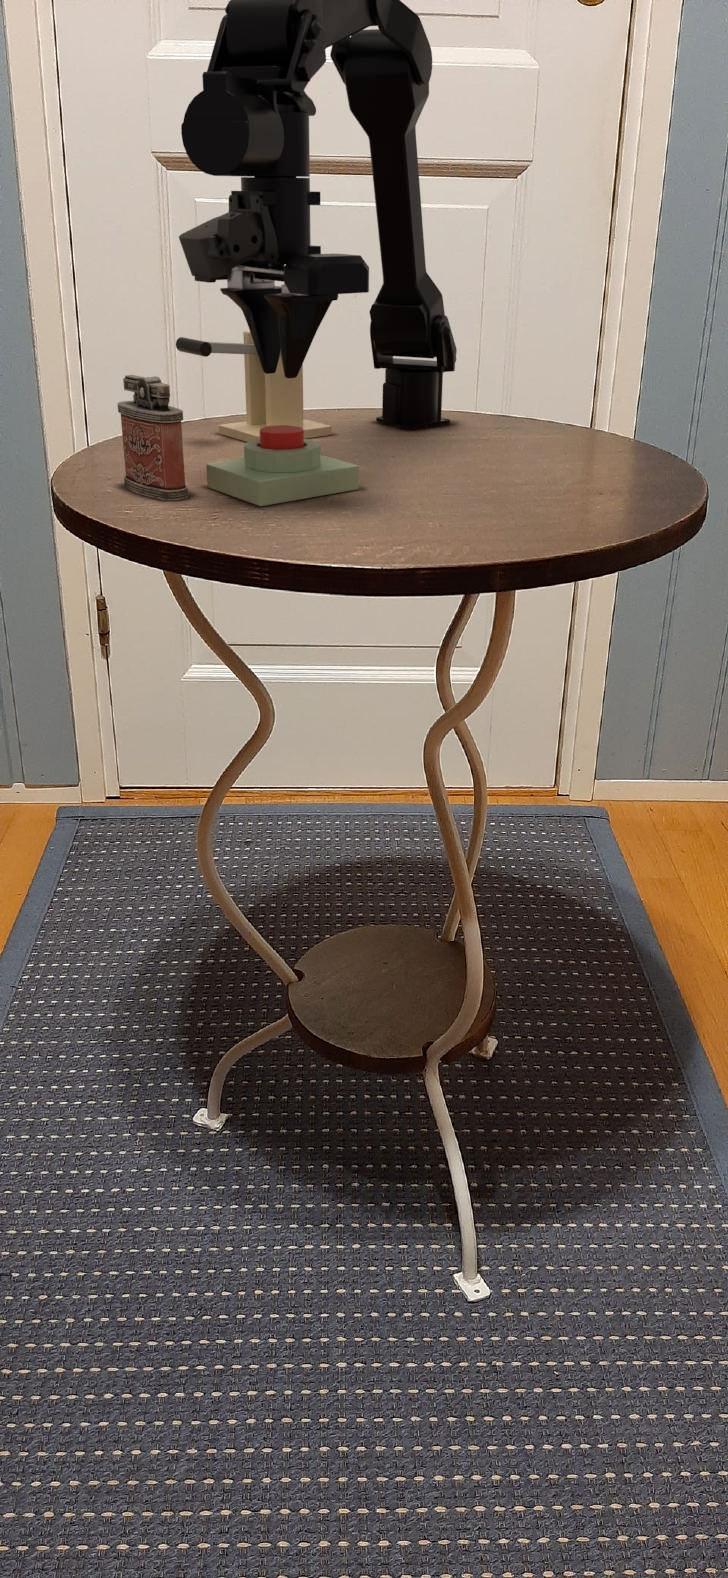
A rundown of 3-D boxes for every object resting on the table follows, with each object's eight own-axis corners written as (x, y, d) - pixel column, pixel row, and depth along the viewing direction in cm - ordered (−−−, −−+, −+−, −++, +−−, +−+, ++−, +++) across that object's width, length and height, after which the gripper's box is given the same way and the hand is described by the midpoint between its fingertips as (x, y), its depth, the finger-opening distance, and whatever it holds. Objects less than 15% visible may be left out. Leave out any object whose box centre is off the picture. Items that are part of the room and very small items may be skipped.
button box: (303, 472, 113) (302, 430, 111) (359, 489, 107) (359, 445, 105) (207, 487, 107) (204, 443, 105) (260, 506, 101) (258, 460, 99)
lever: (199, 361, 118) (200, 336, 117) (175, 356, 122) (175, 331, 121) (295, 364, 125) (297, 341, 125) (270, 359, 129) (271, 336, 128)
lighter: (196, 496, 104) (190, 380, 100) (165, 502, 102) (157, 384, 97) (146, 480, 109) (138, 370, 105) (116, 486, 107) (106, 373, 103)
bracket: (257, 445, 125) (254, 339, 120) (218, 433, 130) (213, 331, 125) (331, 435, 130) (331, 332, 125) (291, 424, 136) (289, 326, 131)
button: (287, 442, 108) (287, 423, 107) (312, 449, 105) (312, 430, 104) (251, 447, 106) (251, 428, 105) (276, 455, 103) (275, 435, 102)
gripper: (134, 176, 97) (149, 370, 105) (255, 176, 84) (262, 398, 92) (245, 177, 103) (251, 361, 111) (374, 178, 90) (372, 386, 98)
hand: (280, 375), depth 103 cm, fingers open, 3 cm apart
